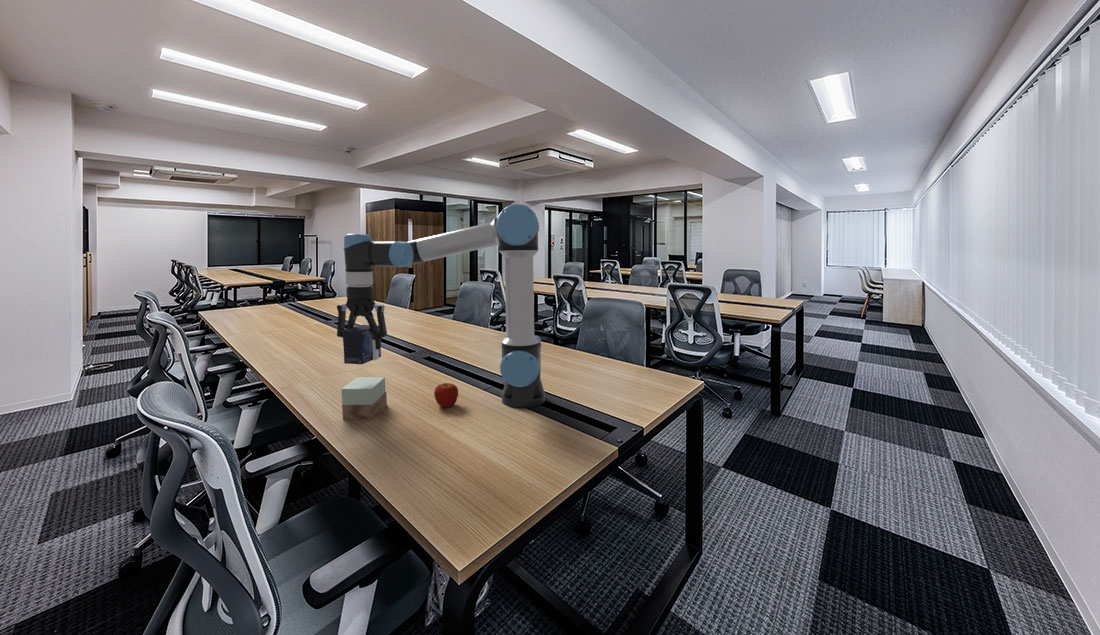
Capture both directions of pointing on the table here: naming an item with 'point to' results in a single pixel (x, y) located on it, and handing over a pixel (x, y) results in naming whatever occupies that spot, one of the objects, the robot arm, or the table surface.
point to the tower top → (363, 391)
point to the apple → (446, 394)
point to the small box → (358, 345)
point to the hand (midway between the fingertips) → (363, 359)
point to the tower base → (364, 409)
